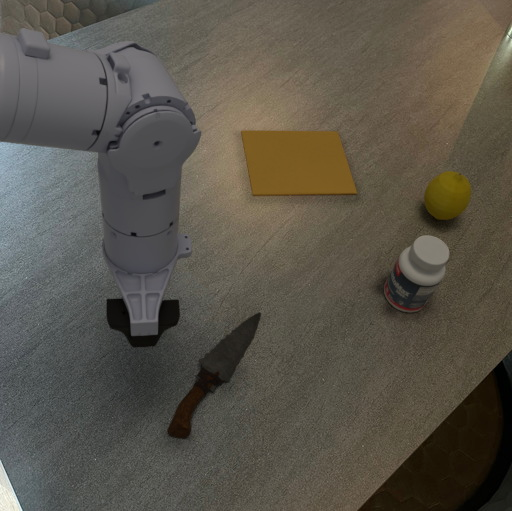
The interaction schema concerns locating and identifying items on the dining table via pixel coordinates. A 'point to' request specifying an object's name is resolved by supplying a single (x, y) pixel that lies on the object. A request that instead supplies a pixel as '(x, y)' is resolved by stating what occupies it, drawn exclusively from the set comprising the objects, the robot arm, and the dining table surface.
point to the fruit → (447, 195)
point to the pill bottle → (417, 274)
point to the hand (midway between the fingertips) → (142, 306)
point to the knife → (214, 373)
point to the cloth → (297, 163)
